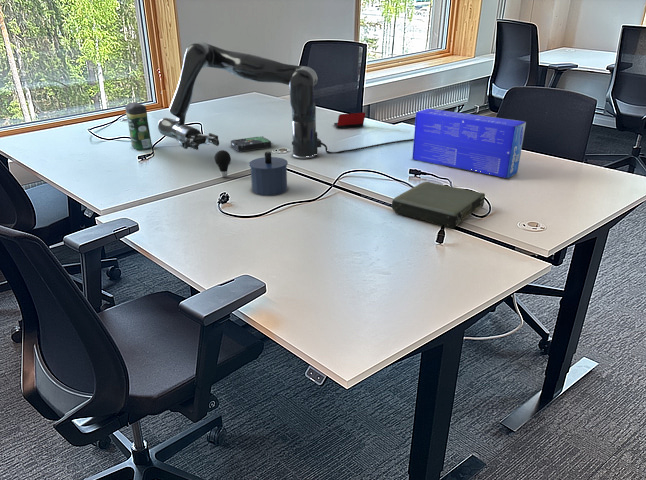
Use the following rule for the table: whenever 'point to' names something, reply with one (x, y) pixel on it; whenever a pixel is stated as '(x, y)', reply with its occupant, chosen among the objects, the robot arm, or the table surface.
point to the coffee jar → (138, 126)
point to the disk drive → (250, 144)
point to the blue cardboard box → (468, 141)
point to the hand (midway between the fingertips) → (207, 145)
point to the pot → (269, 181)
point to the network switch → (438, 203)
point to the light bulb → (223, 161)
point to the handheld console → (350, 120)
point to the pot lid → (268, 162)
